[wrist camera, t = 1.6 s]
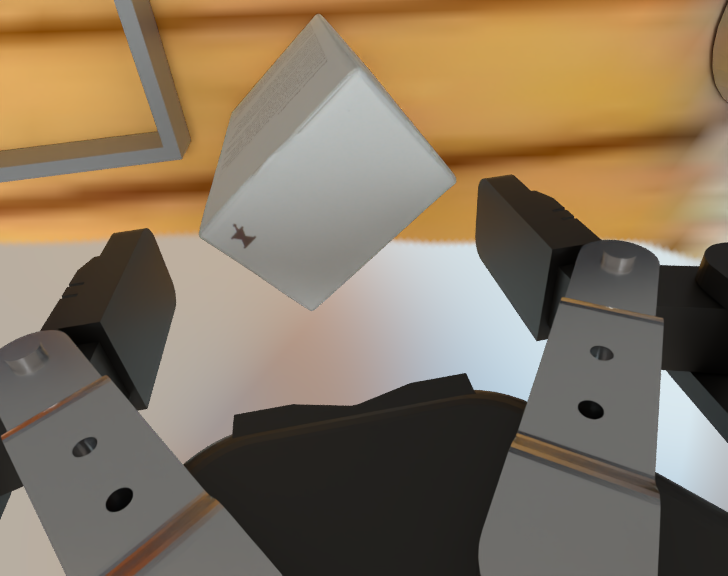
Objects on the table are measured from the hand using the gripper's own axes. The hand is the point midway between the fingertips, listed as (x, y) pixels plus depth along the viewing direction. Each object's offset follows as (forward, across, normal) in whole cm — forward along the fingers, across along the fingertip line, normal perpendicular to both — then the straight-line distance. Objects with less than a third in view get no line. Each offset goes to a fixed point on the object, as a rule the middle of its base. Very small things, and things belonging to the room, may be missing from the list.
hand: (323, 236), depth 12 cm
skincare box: (+13, 0, 0) cm, 13 cm away
